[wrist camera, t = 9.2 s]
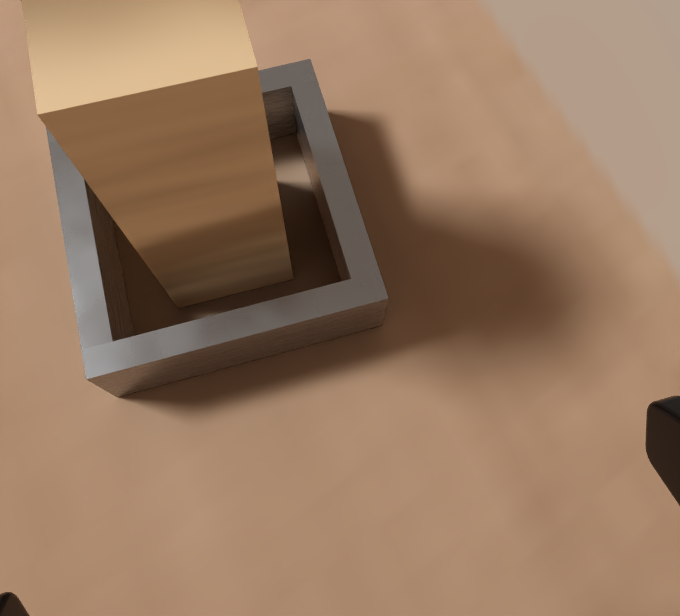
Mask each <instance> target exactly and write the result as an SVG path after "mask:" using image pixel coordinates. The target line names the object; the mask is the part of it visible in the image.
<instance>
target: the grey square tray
mask: <svg viewBox="0 0 680 616" xmlns="http://www.w3.org/2000/svg"><path fill="white" fill-rule="evenodd" d="M258 73H259V79H260V85H261V90H262V96H263V102H264V108H265V114H266V120H267V126H268V132H269V137H270V139H273V138H277V137H281V136H285V135H290V134H294V133H296V134H297V138H298V141H299V144H300V147H301V151H302V154H303V157H304V161H305V164H306V167H307V170H308V174H309V177H310V180H311V184H312V187H313V190H314V193H315V197H316V200H317V203H318V207H319V210H320V213H321V216H322V220H323V223H324V226H325V229H326V233H327V236H328V239H329V243H330V246H331V249H332V252H333V256H334V259H335V262H336V266H337V269H338V272H339V275H340V279H341V282H337V283H333V284H329V285H326V286H322V287H318V288H314V289H310V290H307V291H303V292H299V293H295V294H291V295H288V296H284V297H280V298H276V299H272V300H269V301H265V302H261V303H257V304H253V305H250V306H246V307H242V308H238V309H234V310H231V311H227V312H223V313H219V314H215V315H212V316H208V317H204V318H200V319H196V320H193V321H189V322H185V323H181V324H177V325H174V326H170V327H166V328H162V329H158V330H155V331H151V332H147V333H143V334H139V335H136V336H134V331H133V325H132V320H131V315H130V309H129V304H128V299H127V293H126V288H125V283H124V277H123V272H122V267H121V261H120V256H119V251H118V245H117V240H116V235H115V229H114V224H113V219H112V217H111V215H110V214H109V212H108V211H107V210H106V208H105V207H104V205H103V204H102V203H101V201H100V200H99V199H98V197H97V196H96V194H95V193H94V192H93V190H92V189H91V188H90V186H89V185H88V183H87V182H86V181H85V179H84V178H83V177H82V175H81V174H80V172H79V171H78V170H77V168H76V167H75V166H74V164H73V163H72V161H71V160H70V159H69V157H68V156H67V155H66V153H65V152H64V150H63V149H62V148H61V146H60V145H59V144H58V142H57V141H56V139H55V138H54V137H53V135H52V134H51V133H50V131H49V130H48V128H47V127H46V130H47V136H48V142H49V149H50V155H51V161H52V167H53V174H54V180H55V186H56V193H57V199H58V205H59V211H60V218H61V224H62V230H63V236H64V243H65V249H66V255H67V262H68V268H69V274H70V280H71V287H72V293H73V299H74V306H75V312H76V318H77V324H78V331H79V337H80V343H81V350H82V356H83V362H84V368H85V375H86V379H87V380H88V381H90V382H92V383H94V384H95V385H97V386H99V387H100V388H102V389H104V390H106V391H107V392H109V393H111V394H112V395H114V396H116V397H120V396H124V395H127V394H131V393H135V392H138V391H142V390H146V389H149V388H153V387H157V386H160V385H164V384H168V383H171V382H175V381H179V380H182V379H186V378H190V377H194V376H197V375H201V374H205V373H208V372H212V371H216V370H219V369H223V368H227V367H230V366H234V365H238V364H241V363H245V362H249V361H252V360H256V359H260V358H263V357H267V356H271V355H275V354H278V353H282V352H286V351H289V350H293V349H297V348H300V347H304V346H308V345H311V344H315V343H319V342H322V341H326V340H330V339H333V338H337V337H341V336H345V335H348V334H352V333H356V332H359V331H363V330H367V329H370V328H374V327H378V326H381V325H383V320H384V316H385V312H386V308H387V303H388V299H389V298H388V295H387V292H386V289H385V286H384V283H383V280H382V276H381V273H380V270H379V267H378V264H377V261H376V258H375V255H374V252H373V249H372V246H371V243H370V240H369V237H368V234H367V231H366V228H365V225H364V222H363V218H362V215H361V212H360V209H359V206H358V203H357V200H356V197H355V194H354V191H353V188H352V185H351V182H350V179H349V176H348V173H347V170H346V167H345V163H344V160H343V157H342V154H341V151H340V148H339V145H338V142H337V139H336V136H335V133H334V130H333V127H332V124H331V121H330V118H329V115H328V112H327V108H326V105H325V102H324V99H323V96H322V93H321V90H320V87H319V84H318V81H317V78H316V75H315V72H314V69H313V66H312V63H311V60H310V59H308V60H303V61H299V62H295V63H290V64H286V65H281V66H277V67H273V68H268V69H264V70H260V71H258Z"/></svg>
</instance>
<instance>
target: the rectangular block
mask: <svg viewBox="0 0 680 616" xmlns="http://www.w3.org/2000/svg"><path fill="white" fill-rule="evenodd" d="M21 2H22V9H23V16H24V23H25V30H26V37H27V44H28V51H29V58H30V65H31V72H32V79H33V86H34V93H35V100H36V107H37V115H38V116H39V117H40V119H41V120H42V121H43V123H44V124H45V126H46V127H47V128H48V130H49V131H50V133H51V134H52V135H53V137H54V138H55V139H56V141H57V142H58V144H59V145H60V146H61V148H62V149H63V150H64V152H65V153H66V155H67V156H68V157H69V159H70V160H71V161H72V163H73V164H74V166H75V167H76V168H77V170H78V171H79V172H80V174H81V175H82V177H83V178H84V179H85V181H86V182H87V183H88V185H89V186H90V188H91V189H92V190H93V192H94V193H95V194H96V196H97V197H98V199H99V200H100V201H101V203H102V204H103V205H104V207H105V208H106V210H107V211H108V212H109V214H110V215H111V217H112V218H113V219H114V221H115V222H116V223H117V225H118V226H119V228H120V229H121V230H122V232H123V233H124V234H125V236H126V237H127V239H128V240H129V241H130V243H131V244H132V245H133V247H134V248H135V250H136V251H137V252H138V254H139V255H140V256H141V258H142V259H143V261H144V262H145V263H146V265H147V266H148V267H149V269H150V270H151V272H152V273H153V274H154V276H155V277H156V278H157V280H158V281H159V283H160V284H161V285H162V287H163V288H164V289H165V291H166V292H167V294H168V295H169V296H170V298H171V299H172V301H173V302H174V303H175V305H176V306H177V307H178V308H180V307H184V306H188V305H192V304H196V303H200V302H204V301H208V300H212V299H216V298H220V297H224V296H228V295H232V294H236V293H240V292H244V291H248V290H252V289H256V288H260V287H264V286H268V285H272V284H276V283H280V282H284V281H288V280H292V279H294V278H293V273H292V267H291V261H290V255H289V249H288V243H287V237H286V231H285V226H284V220H283V214H282V208H281V202H280V196H279V190H278V184H277V179H276V173H275V167H274V161H273V155H272V149H271V143H270V137H269V132H268V126H267V120H266V114H265V108H264V102H263V96H262V90H261V85H260V79H259V73H258V67H257V63H256V60H255V56H254V53H253V49H252V45H251V42H250V38H249V35H248V31H247V28H246V24H245V21H244V17H243V13H242V10H241V6H240V3H239V0H21Z"/></svg>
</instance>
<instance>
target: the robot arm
mask: <svg viewBox="0 0 680 616" xmlns="http://www.w3.org/2000/svg"><path fill="white" fill-rule="evenodd" d="M646 452H647V455H648V458H649V460H650V462H651V464H652V466H653V467H654V469H655V470H656V472H657V473H658V474H659V476H660V477H661V479H662V480H663V482H664V483H665V485H666V486H667V488H668V489H669V491H670V492H671V494H672V495H673V497H674V498H675V499H676V501H677V502H678V504H679V505H680V396H671V397H668V398H665V399H661V400H658V401H654V402H652V403H651V404H650V405H649V407H648V409H647V421H646ZM0 616H29V614H28V613H27V611H26V609H25V608H24V606H23V605H22V603H21V601H20V600H19V598H18V597H17V596H16V595H15V594H13V593H11V592H5V593H2V594H0Z"/></svg>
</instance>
